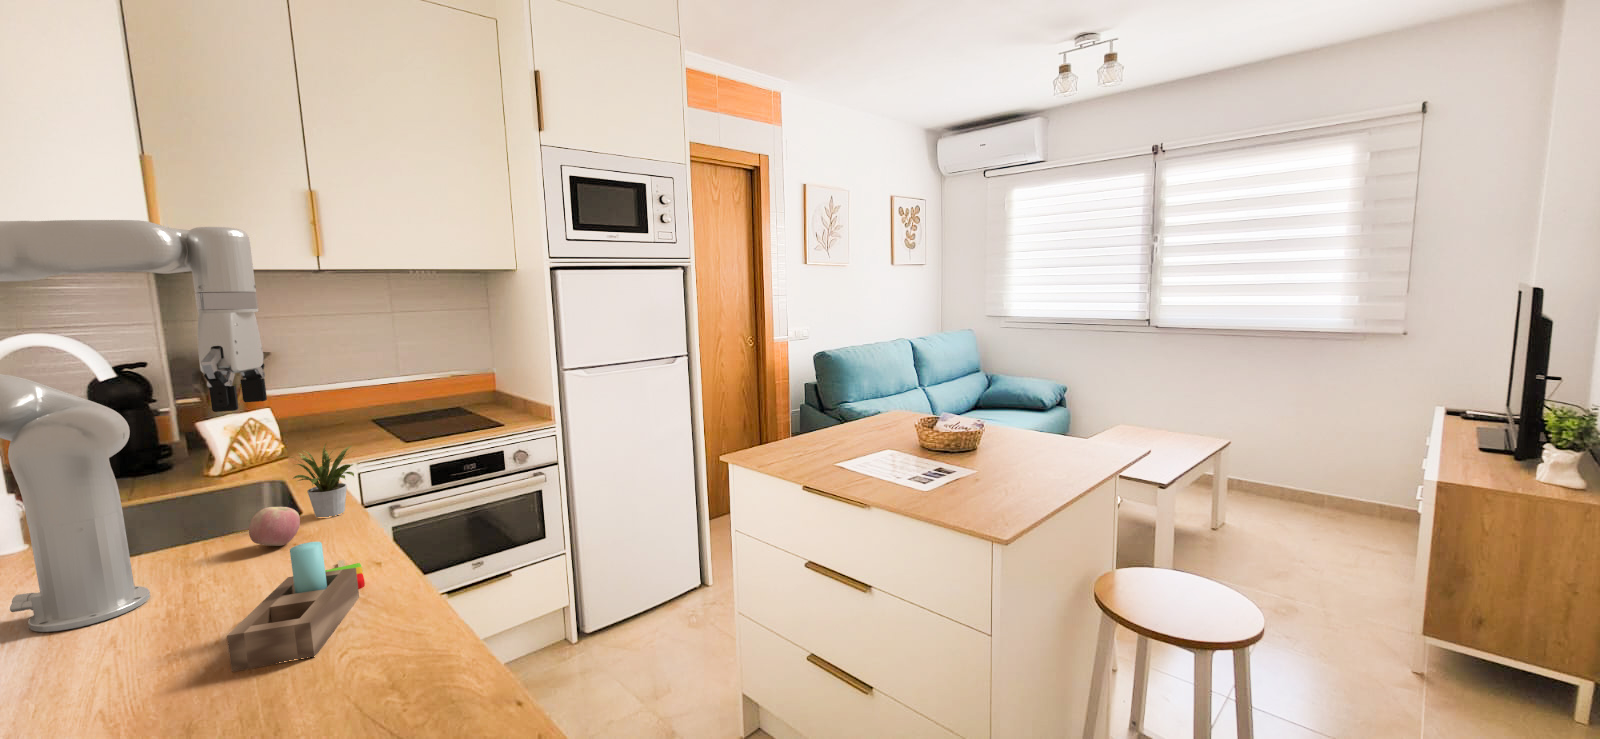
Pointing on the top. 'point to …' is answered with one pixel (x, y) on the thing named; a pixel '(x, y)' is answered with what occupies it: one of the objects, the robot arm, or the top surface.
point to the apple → (274, 526)
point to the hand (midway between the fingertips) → (241, 406)
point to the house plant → (326, 484)
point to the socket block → (292, 622)
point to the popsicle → (342, 566)
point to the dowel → (308, 567)
